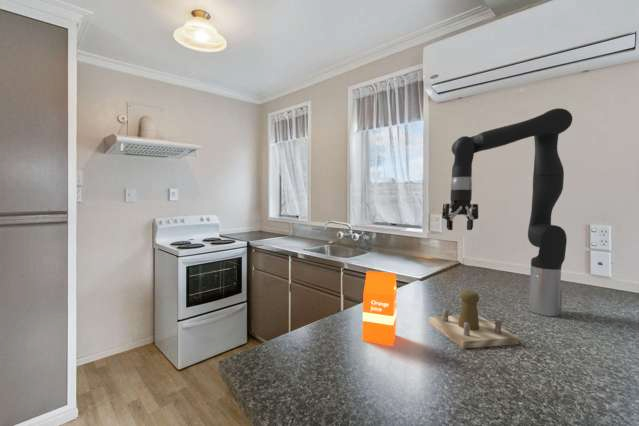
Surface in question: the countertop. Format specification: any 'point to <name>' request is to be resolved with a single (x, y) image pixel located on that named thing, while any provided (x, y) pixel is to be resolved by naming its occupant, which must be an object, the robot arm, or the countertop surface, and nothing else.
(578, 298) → the countertop surface
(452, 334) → the peg board
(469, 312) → the cork
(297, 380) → the countertop surface
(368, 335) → the orange juice
